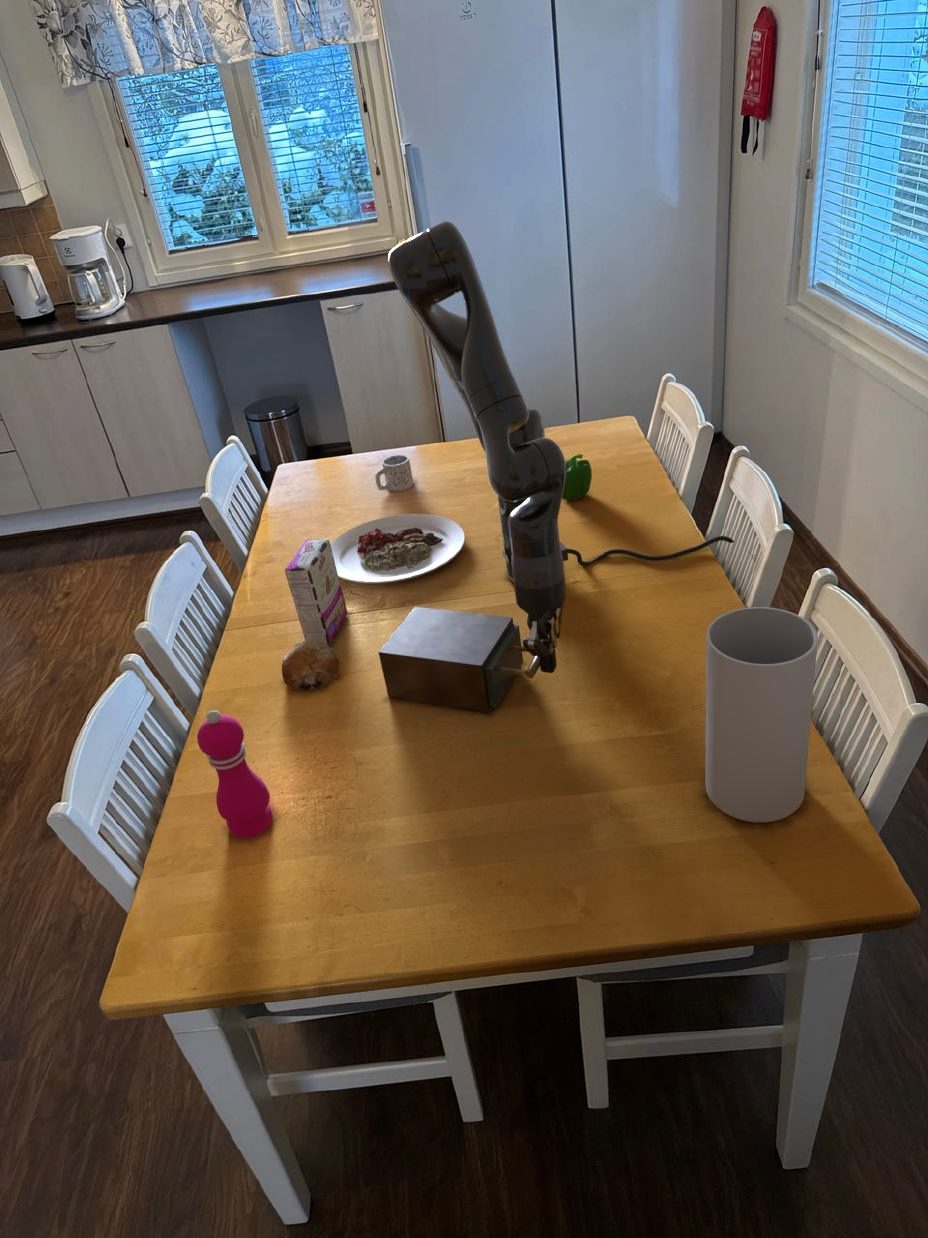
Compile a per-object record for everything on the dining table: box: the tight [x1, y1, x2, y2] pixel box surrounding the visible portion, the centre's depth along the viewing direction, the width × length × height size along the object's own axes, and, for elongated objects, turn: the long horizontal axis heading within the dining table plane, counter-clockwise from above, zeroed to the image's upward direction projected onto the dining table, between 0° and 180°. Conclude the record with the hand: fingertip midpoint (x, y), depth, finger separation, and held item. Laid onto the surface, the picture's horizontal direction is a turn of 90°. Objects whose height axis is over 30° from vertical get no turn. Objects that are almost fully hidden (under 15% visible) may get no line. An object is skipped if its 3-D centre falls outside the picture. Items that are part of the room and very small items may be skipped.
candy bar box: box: [284, 538, 349, 646], centre depth 166 cm, size 11×5×16 cm, turn 168°
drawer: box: [484, 623, 540, 709], centre depth 147 cm, size 22×13×7 cm, turn 67°
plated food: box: [330, 513, 466, 584], centre depth 192 cm, size 30×30×3 cm
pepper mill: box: [196, 709, 274, 840], centre depth 123 cm, size 7×7×20 cm
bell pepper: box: [562, 453, 593, 501], centre depth 202 cm, size 8×8×10 cm
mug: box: [374, 454, 414, 492], centre depth 221 cm, size 10×7×7 cm, turn 133°
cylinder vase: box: [704, 606, 819, 824], centre depth 114 cm, size 12×12×25 cm
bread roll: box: [281, 641, 340, 692], centre depth 157 cm, size 10×10×8 cm
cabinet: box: [378, 606, 514, 715], centre depth 149 cm, size 18×14×9 cm
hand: (548, 669), depth 142 cm, fingers closed
